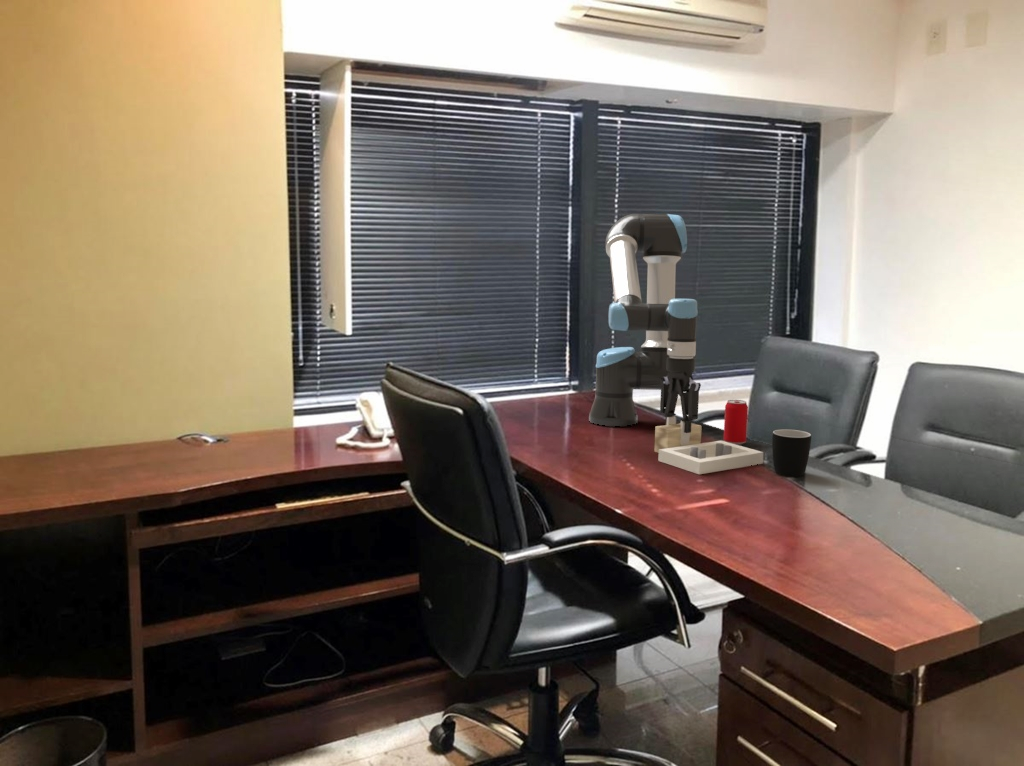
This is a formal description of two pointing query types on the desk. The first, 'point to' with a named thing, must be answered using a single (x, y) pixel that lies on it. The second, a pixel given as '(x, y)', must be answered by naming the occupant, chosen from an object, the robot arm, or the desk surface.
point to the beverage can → (735, 422)
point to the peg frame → (710, 457)
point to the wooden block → (675, 436)
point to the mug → (790, 451)
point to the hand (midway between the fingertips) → (677, 442)
